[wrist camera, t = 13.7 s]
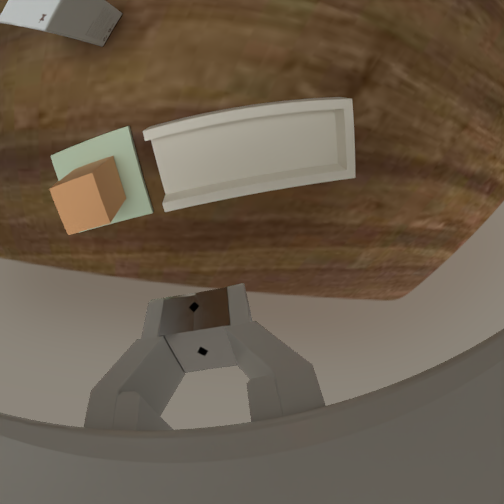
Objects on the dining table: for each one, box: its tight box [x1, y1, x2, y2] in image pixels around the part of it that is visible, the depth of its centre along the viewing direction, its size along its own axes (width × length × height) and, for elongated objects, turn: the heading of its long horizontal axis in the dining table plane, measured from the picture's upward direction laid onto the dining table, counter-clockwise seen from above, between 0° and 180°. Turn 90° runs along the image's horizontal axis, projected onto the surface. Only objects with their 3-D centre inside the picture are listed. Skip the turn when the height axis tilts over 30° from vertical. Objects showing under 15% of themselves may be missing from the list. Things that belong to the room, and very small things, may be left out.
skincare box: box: [0, 0, 122, 47], centre depth 13 cm, size 6×4×12 cm
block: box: [50, 156, 126, 235], centre depth 25 cm, size 5×5×6 cm
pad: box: [51, 126, 154, 232], centre depth 27 cm, size 10×10×1 cm
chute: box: [143, 97, 355, 212], centre depth 27 cm, size 20×8×3 cm, turn 98°
